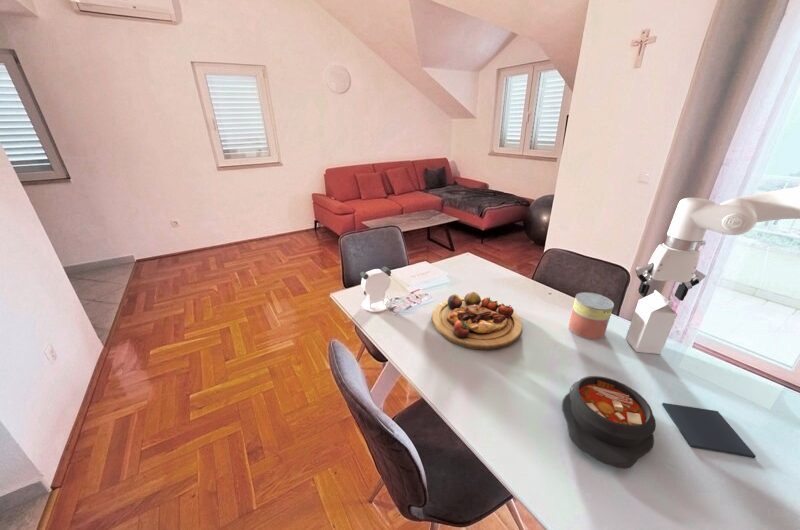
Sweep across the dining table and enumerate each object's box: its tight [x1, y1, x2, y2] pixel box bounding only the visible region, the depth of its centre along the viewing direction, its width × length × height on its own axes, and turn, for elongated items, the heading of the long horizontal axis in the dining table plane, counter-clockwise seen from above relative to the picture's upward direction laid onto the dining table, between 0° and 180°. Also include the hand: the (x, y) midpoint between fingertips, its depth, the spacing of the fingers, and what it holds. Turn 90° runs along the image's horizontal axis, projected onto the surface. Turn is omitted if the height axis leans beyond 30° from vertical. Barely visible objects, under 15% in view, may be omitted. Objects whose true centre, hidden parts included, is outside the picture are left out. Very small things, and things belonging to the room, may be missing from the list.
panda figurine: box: [359, 266, 392, 313], centre depth 123 cm, size 12×11×15 cm
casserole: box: [561, 375, 657, 470], centre depth 73 cm, size 25×19×8 cm
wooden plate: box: [431, 291, 523, 350], centre depth 112 cm, size 32×32×8 cm
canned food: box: [567, 291, 615, 341], centre depth 107 cm, size 11×11×12 cm
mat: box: [662, 402, 757, 459], centre depth 74 cm, size 12×12×1 cm
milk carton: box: [624, 289, 678, 355], centre depth 98 cm, size 7×7×19 cm
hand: (660, 296), depth 94 cm, fingers open, 9 cm apart
